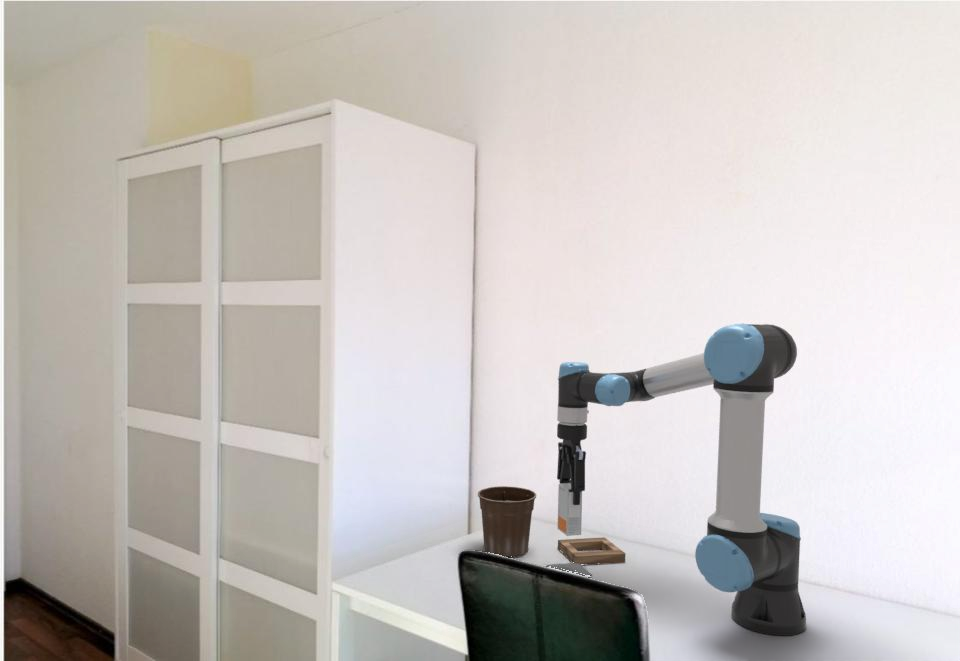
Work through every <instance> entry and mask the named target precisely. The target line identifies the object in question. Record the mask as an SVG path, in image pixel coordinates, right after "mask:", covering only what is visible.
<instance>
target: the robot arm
mask: <svg viewBox="0 0 960 661" xmlns="http://www.w3.org/2000/svg"><path fill="white" fill-rule="evenodd" d="M797 357H798V347H797V344H796V342H795V340H794V338H793V336H792V335H791V334H790V333H789V332H788V331H787V330H785V328H782V327H780V326H779V325H775V324H769V323H768V324H767V323H764V324H763V323H762V324H760V323H759V324H752V323H751V324H750V323H749V324H748V323H736V324H729V325H725V326H722V327H721V328H719V329H717V330H716V331H715V332H714V333H713V334H711V336H710V337H709V338H708V340H707V342H706V344H705V347H704V352H703V353H700V354H696V355H695V354H694V355H692V356H689V357H685V358H680V359H677V360H674V361H670V362H666V363H663V364H659V365H655V366H652V367H648V368H644V369H639V370H636V371H629V372H611V373H610V372H609V373H604V372H602V373H601V372H592V371H590V366H589V364H588V363H586V362H580V361H577V362H576V361H564V362H562V363H561V364H560V365H559V370H558V377H557V380H558V396H557V399H558V400H557V412H556V414H557V415H556V416H557V417H556V418H557V421H558V423H557V424H556V425H557V426H556V428H557V429H556V430H557V432H556V435H557V438H558V439H559V440H562V441H561V442H560V441H559V442H557V446H558V454H557V455H558V458H557V474H556V479H557V480H559V484H562V483H571V490H569V492H570V498H569V517H570V518H572V517H580V506H581V492H582V493H583V492H585V490H586V457H587V456H586V455H587V452H586V451H583V450H582V445H581V441H584V440H586V439H587V438H588V425H587V424H586V423H587V422H588V414H589V412H590V411H589V409H588V404H589V403H592V404H598V405H602V406H603V405H604V406H606V407H622V406H624V405H625V403H632V402H647V401H650V400H654V399H655V398H658V397H663V396H667V395H672V394H676V393H680V392H685V391H689V390H693V389H699V388H701V387H702V388H703V387H709V386H711V385H713V387H712V388H713V390H714V391H715V393H717V394H718V396H719V397H720V400H719V402H720V405H719V426H718V427H719V429H718V430H719V431H718V451H717V452H718V453H717V474H716V495H715V496H716V498H715V499H716V500H715V511H714V512H713V513H712V514H711V515H709V516H708V518H707V524H706V526H707V527H706V535H704V537H702V539H700V541H699V542H698V543H697V545H696V547H695V554H694V557H695V562H696V566H697V569H698V570H699V573H700V574H701V575H702V576H703V577H704V579H705V581H706V582H707V583H708V584H709V585H710V586H712V587H713V588H715V589H716V590H718V591H720V592H725V593H736V594H735V596H734V600H733V602H732V603H731V614H730V615H731V617H732V618H731V619H733V621H734V622H736V623H737V624H738V625H740V626H741V627H744V628H746V629H748V630H751V631H754V632H757V633H761V634H765V635H771V636H795V635H799V634H801V633H803V632H804V631H805V630H806V627H807V617H806V616H807V614H806V613H805V609H804V605H803V601H802V599H801V595H800V592H799V575H800V574H799V572H800V554H801V553H800V552H801V550H800V549H801V548H800V547H801V530H800V525H799V523H798V522H797V521H795V520H794V519H791V518H788V517H785V516H782V515H777V514H771V513H767V512H766V513H765V512H761V500H762V499H761V496H762V477H763V476H762V474H763V472H762V471H763V454H764V452H763V449H764V433H765V432H764V430H765V428H764V427H765V409H766V400H767V399H768V398H769V397H770V396H771V395H773V393H774V389H775V379H778V378H780V377H783V376H784V375H786V374H787V373H789V372H790V371H791V369H792V368H793V367H794V366H795V363H796V361H797Z"/></svg>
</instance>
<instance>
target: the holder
mask: <svg viewBox="0 0 960 661" xmlns="http://www.w3.org/2000/svg"><path fill="white" fill-rule="evenodd" d="M557 549H558V550H559V549H560V550H561V551H562V552H563V553H564V554H565V555H566V556H567V557H568V558H569V559H570V560H571V561H572V562H574V563H580V564H596V565H599V564H598V563H611V564H622V563H621V562H625V563H626V552H624V551H623V550H622V549H621V548H619V547H618V546H616V545H615V544H614V543H612V542H611V541H610V540H609V539H608V538H606V537H605V536H604V537H602V536H601V537H587V538H572V539H571V538H567V539H558V540H557ZM600 549H601V550H600ZM560 550H559V551H560ZM583 550H590V551H583ZM561 551H560V552H561ZM562 552H561V553H562ZM563 553H562V554H563ZM564 554H563V555H564ZM565 555H564V556H565ZM566 556H565V557H566ZM567 557H566V558H567ZM568 558H567V559H568ZM569 559H568V560H569ZM570 560H569V561H570ZM571 561H570V562H571ZM572 562H571V563H572ZM619 562H620V563H619Z"/></svg>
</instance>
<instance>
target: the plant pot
mask: <svg viewBox="0 0 960 661" xmlns="http://www.w3.org/2000/svg"><path fill="white" fill-rule="evenodd" d="M537 496H538V495H537V493H536V492H535V491H533V490H531V489H528V488H525V487H517V486H505V485H504V486H503V485H502V486H501V485H500V486H491V487H487V488H482V489H480V490H479V491H478V492H477V497H478V498H479V508H480V510H481V520H482V521H481V523H482V533H483V536H482V537H483V549H484V552H485V553H486V552H490V553H494V554H499V555H502V556H506V558H507V557H511V556H512V557H511V558H513V559H514V558H517V557H518V556H520V557H522V555H523V556H524V555H525V556H526V554H527V553H528V552H529V542H530V535H531V534H530V533H531V524H532V514H533V511H534V509H535V508H534V506H535V499H537Z"/></svg>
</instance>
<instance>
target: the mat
mask: <svg viewBox="0 0 960 661" xmlns="http://www.w3.org/2000/svg"><path fill="white" fill-rule="evenodd" d="M546 565H547V566H546ZM546 565H545V568H547V567H549V566H551V568H554V567H555V569H559V570H562V571H566V570H569V571H572V573H574V572H578V573H576V574H579V575H582V576H585V575H590V576H592V575H593V574H592V573H591V572H590V571H588V570H587V568H585V567H584V565H581V564H580V563H572V562H568V563H567V562H566V563H555V564H546ZM556 567H557V568H556ZM561 568H562V569H561ZM563 569H565V570H563ZM575 570H576V571H575ZM569 571H567V572H569ZM580 573H582V574H580ZM583 574H585V575H583ZM592 577H593V576H592Z"/></svg>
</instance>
